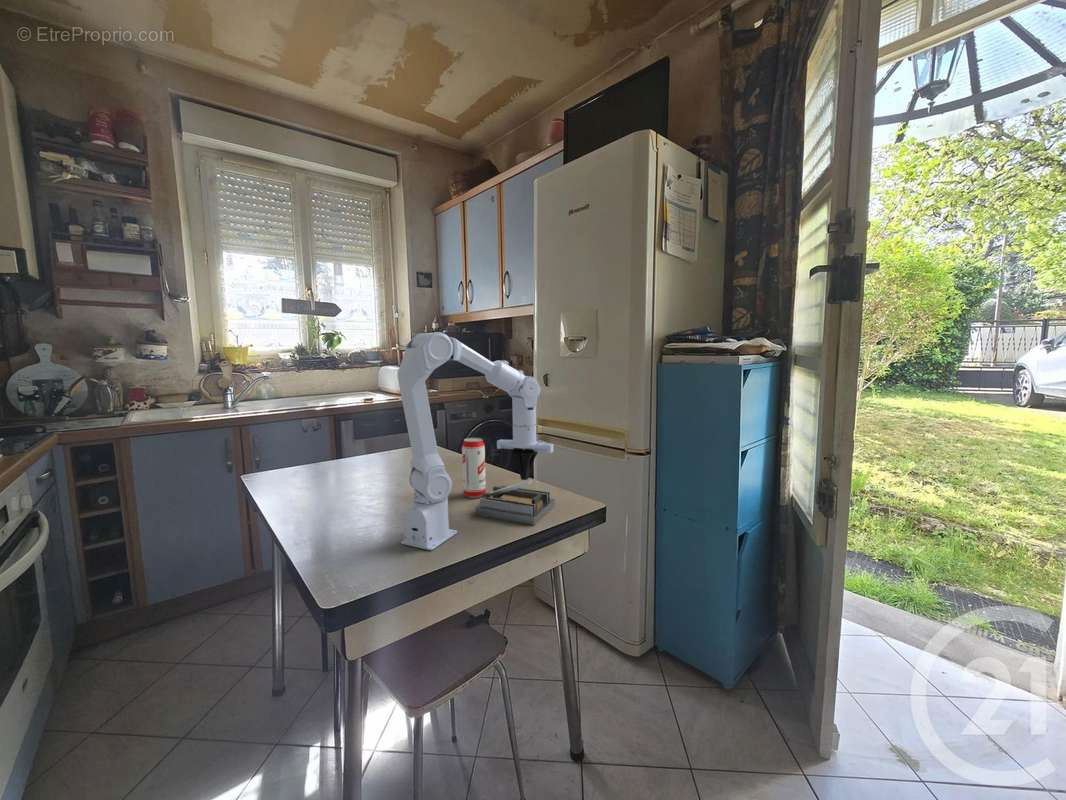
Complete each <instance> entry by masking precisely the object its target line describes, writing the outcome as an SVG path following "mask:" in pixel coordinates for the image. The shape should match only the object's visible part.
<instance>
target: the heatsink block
mask: <svg viewBox="0 0 1066 800" xmlns="http://www.w3.org/2000/svg"><path fill="white" fill-rule="evenodd" d="M505 487H508V486H507V485H501V486H496V485H494V486H493V487H492V491H494V490H499V489H502V488H505ZM555 507H556V499H555V498H551V491H545V490H537V489H529V488H525V487H521V488H518V489H514V490H511V491H508V492H504V493H501V494H498V495H494V496H490V492H484V493H482V497H480V498H479V504H478V505H476V506H475V507H474V508H475V509H474V510H475V511H474V512H475V513H474V515H475V516H478V517H484V518H490V519H495V520H502V521H505V522H506V521H507V522H512V523H517V522H518V524H523V523H525V525H529V524H531V525H530V526H536V525H537V524H538V523H539V522H540V521H541V520H543V518H544V517H546V516H547V515H548V514H549V513H550V512H551V511H552V510H553V509H554V508H555ZM548 512H549V513H548ZM547 513H548V514H547ZM536 523H537V524H536ZM535 524H536V525H535Z"/></svg>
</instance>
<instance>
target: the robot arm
mask: <svg viewBox="0 0 1066 800" xmlns="http://www.w3.org/2000/svg"><path fill="white" fill-rule="evenodd" d="M448 361H457V362H459V363H460V364H463V365H465V366H466V367H469V368H471V369H473V370H475V371H476V372H479V373H482V374H483V375H485V380H486V382H487V383H489V384H491V385H493V386H495V387H496V388H498V389H500V390H502V391H504V392H506V393H507V394H508V396H509V397H510V398H512V400H511V401H512V403H511V404H512V405H511V406H512V409H511V410H512V439H499V440H496V449H499V450H501V449H507V450H513V451H511V453H510V454H511V457H512V459H513V460H514V463H515V464H516V467H517V468H518V472H519V475H520V480H522V481H523V480H524V481H528V479H530V475H531V470H532V467H533V464H534V461H535V460H536V457H537V455H538V453H540V452H541V453H546V454H553V452H554V443H549V442H548V443H547V442H543V441H537V405H538V398H539V396H540V394H541V391H542V387H540V385H539V382H538V380H537V379H536V378H535V377H534V376H531V375H530V376H528V375H525V374H524V371H523V370H522V369H518V370H517V369H516V368H514V367H512V365H511V366H510V365H509V361H507V360H503V359H502V360H499V359H498V360H495V361H491V360H489V359H488V358H486V357H485V356H483V355H481V354H480V353H478V352H477V351H475V350H474V349H472V348H471V347H469V346H467V345H466V344H464V343H463V342H461V341H460V340H458V339H457V338H454V337H452V336H448V335H447V334H446V333H444V332H440V331H435V332H432V333H418V334H416V335H415V336H413V337H412V338H411V339H410V341H409V342H407V344H405V346H404V354H403V357H402V359H401V363H400V366H399V368H398V371H397V382H398V387H399V392H400V397H401V402H402V407H403V412H404V417H405V422H406V428H407V433H408V438H409V443H410V447H411V453H412V454H411V455H412V458H411V459H410V462H409V464H410V472H409V475H408V481H409V485H410V486H411V488H412V489H413V490H414V493H413V497H412V502H411V504H410V506H409V507H408V508H406V509H405V510H404V512H403V540H401V542H400V543H401V545H404V546H410V547H414V548H419V549H423V550H427V551H432V550H434V549H436V548H437V547H438V546H440V545H441V544H443V543H445V542H446V541H447V540H449V539H450V538H452V537H453V536H455V535H456V534H458V530H456V529H452V528H449V527H450V524H449V504H448V503H449V497H448V496H449V495H450V493H451V491H452V488H453V481H452V478H451V477H450V475H449V474H448V473H447V471H446V465H445V463H444V462H443V459H442V458H441V456H440V455H439V452H438V445H437V440H436V434H435V430H434V424H433V418H432V413H431V407H430V402H429V396H428V395H429V394H428V390H427V385H426V380H427V379H428V378H429V376H431V374H432V373H433V372H434V371H435V370H436V369H437V368H439V367H441V366H442V365H443V364H445V363H446V362H448Z"/></svg>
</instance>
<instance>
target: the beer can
mask: <svg viewBox="0 0 1066 800" xmlns="http://www.w3.org/2000/svg"><path fill="white" fill-rule="evenodd" d="M483 441H484V440H483V438H482V437H468V438H466V437H465V438H464V439H463V443H462V446H461V452H462V453H461V456H462V458H461V459H462V461H461V462H462V463H461V464H462V489H463V490H462V491H463V495H464V496H465V497H466V496H467V497H466V498H468V497H469V499H479V498H478V497H480V498H482V497H481V496H482V493H484V492H485V493H487V491H486V486H487V483H486V450H485V449H486V448H485V443H484V442H483Z"/></svg>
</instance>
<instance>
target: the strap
mask: <svg viewBox="0 0 1066 800" xmlns="http://www.w3.org/2000/svg"><path fill="white" fill-rule="evenodd" d="M533 483H534V481H533V479H529V480H528V479H527V480H524V481H522V482H518V483H515V484H512V485H509V486H508V487H505V488H502V489H499V490H494V491H493V490H492V491H490V492H489V493H490V496H491V497H492V496H494V495H498V494H501V493H504V492H508V491H511V490H514V489H518V488H525V487H528V486H530V485H531V484H533Z"/></svg>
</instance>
